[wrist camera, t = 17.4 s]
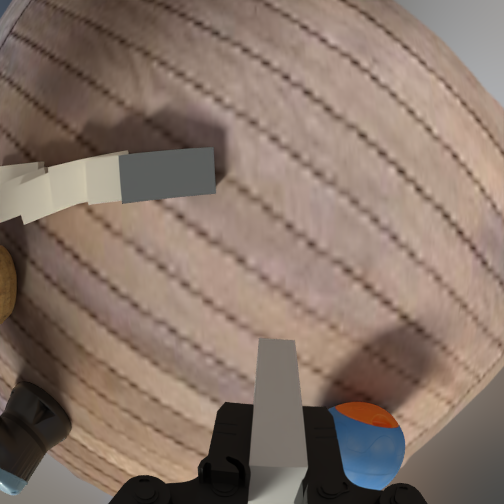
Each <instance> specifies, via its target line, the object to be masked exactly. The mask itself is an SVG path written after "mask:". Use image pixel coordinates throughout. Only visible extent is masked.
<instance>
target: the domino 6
mask: <svg viewBox="0 0 504 504" xmlns="http://www.w3.org/2000/svg"><path fill="white" fill-rule="evenodd" d="M118 157H119V172H120V186H121V197H122V204H124V203H132V202H140V201H148V200H157V199H166V198H175V197H185V196H195V195H205V194H216V186H215V167H214V147H206V148H190V149H176V150H165V151H154V152H144V153H135V154H126V155H118Z"/></svg>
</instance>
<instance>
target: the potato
mask: <svg viewBox="0 0 504 504" xmlns="http://www.w3.org/2000/svg"><path fill="white" fill-rule="evenodd" d="M16 293H17V276H16V271H15V267H14V263H13V260H12V257H11V255H10V253H9V252H8V250H7V249H6V248H4V247H3V246H2V245H0V324H2V323H3V322H4V321H5V320H6V318H7V317H8V316H9V315H10V314H11V313H12V311H13V308H14V306H15V300H16Z"/></svg>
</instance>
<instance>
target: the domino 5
mask: <svg viewBox="0 0 504 504" xmlns="http://www.w3.org/2000/svg"><path fill="white" fill-rule="evenodd" d="M134 154H135V153H134ZM124 155H126V154H124ZM85 166H86V182H87V195H88V205H91V204H99V203H107V202H115V201H122V197H121V186H120V172H119V157H118V155H115V156H107V157H99V158H91V159H85Z"/></svg>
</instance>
